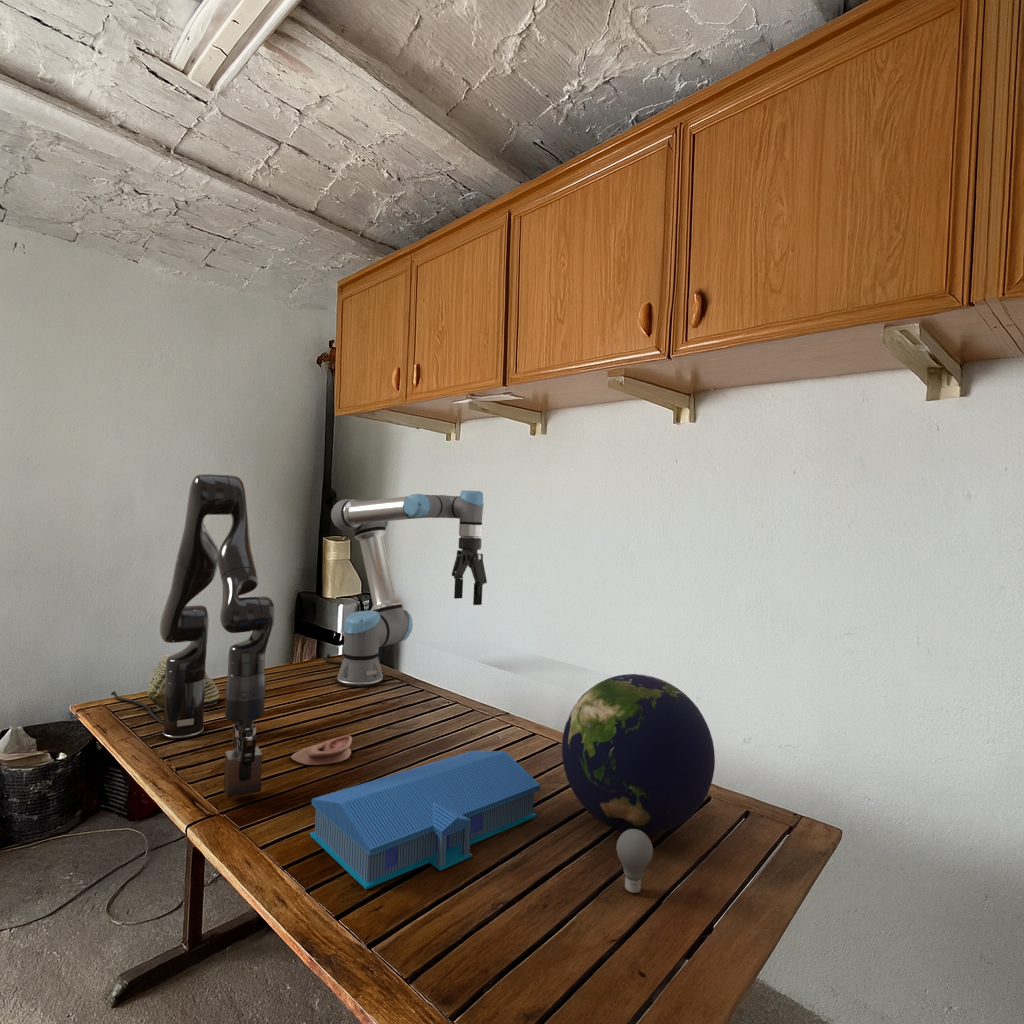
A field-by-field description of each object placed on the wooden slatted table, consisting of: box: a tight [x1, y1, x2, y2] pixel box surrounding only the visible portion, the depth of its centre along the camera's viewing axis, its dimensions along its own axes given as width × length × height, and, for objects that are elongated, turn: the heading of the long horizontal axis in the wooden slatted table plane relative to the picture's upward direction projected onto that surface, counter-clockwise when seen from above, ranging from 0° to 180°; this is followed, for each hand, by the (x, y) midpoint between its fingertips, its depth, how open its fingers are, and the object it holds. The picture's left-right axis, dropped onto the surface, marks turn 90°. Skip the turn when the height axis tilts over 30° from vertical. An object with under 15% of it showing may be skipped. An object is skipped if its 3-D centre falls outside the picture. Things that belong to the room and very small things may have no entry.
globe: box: [561, 673, 716, 836], centre depth 127 cm, size 30×30×30 cm
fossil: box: [147, 654, 221, 712], centre depth 185 cm, size 9×18×15 cm, turn 132°
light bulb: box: [615, 829, 654, 894], centre depth 106 cm, size 6×6×10 cm
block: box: [223, 745, 263, 799], centre depth 131 cm, size 5×6×8 cm
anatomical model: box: [290, 735, 353, 766], centre depth 154 cm, size 13×4×12 cm
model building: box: [309, 750, 541, 890], centre depth 123 cm, size 39×24×10 cm, turn 132°
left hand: (242, 774), depth 131 cm, fingers closed on block, 4 cm apart
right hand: (467, 601), depth 209 cm, fingers open, 13 cm apart
